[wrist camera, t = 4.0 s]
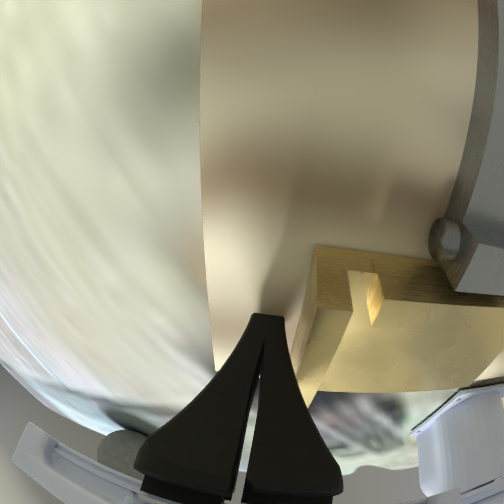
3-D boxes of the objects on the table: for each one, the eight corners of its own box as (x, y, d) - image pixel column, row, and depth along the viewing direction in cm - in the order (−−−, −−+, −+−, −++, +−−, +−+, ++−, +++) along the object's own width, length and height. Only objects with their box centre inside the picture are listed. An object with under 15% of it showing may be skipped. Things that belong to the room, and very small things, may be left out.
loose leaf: (464, 371, 13) (474, 410, 11) (286, 368, 14) (280, 418, 12) (534, 274, 8) (561, 317, 6) (315, 242, 10) (318, 305, 7)
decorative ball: (110, 425, 36) (92, 474, 28) (108, 412, 30) (84, 471, 22) (166, 449, 37) (151, 498, 29) (177, 441, 31) (158, 502, 23)
